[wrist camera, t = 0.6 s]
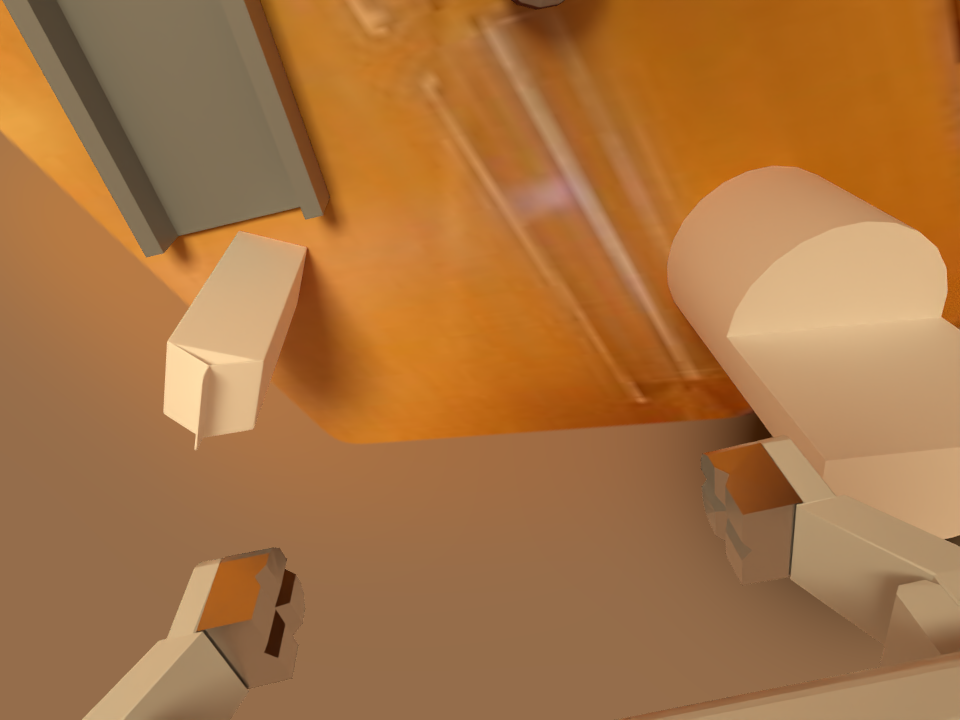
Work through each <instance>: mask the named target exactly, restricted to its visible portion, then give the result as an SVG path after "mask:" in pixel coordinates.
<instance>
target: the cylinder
mask: <svg viewBox="0 0 960 720" xmlns="http://www.w3.org/2000/svg"><path fill="white" fill-rule="evenodd" d="M667 275H668V286H669V289H670V292H671V295H672V298H673V300H674V302H675V304H676V305H677V307H678V308H679V309H680V311H681V312H682V313H683V315H684V316H685V317H686V319H687V320H688V322H689V323H690V324H691V326H692V327H693V328H694V330H695V331H696V332H697V334H698V335H699V337H700V338H701V339H702V341H703V342H704V343H705V345H706V346H707V347H708V349H709V350H710V352H711V353H712V354H713V356H714V357H715V358H716V360H717V361H718V363H719V364H720V365H721V367H722V368H723V369H724V371H725V372H726V373H727V375H728V376H729V378H730V379H731V380H732V382H733V383H734V384H735V386H736V387H737V388H738V390H739V391H740V393H741V394H742V395H743V397H744V398H745V399H746V401H747V402H748V403H749V405H750V406H751V408H752V409H753V410H754V412H755V413H756V414H757V416H758V417H759V419H760V420H761V421H762V423H763V424H764V425H765V427H766V428H767V429H768V430H769V432H770V433H771V435H772V436H773V437H776V436H780V435H785V436H787V437H789V438H790V439H791V440H792V441H793V443H794V444H795V445H796V446H797V448H798V449H799V450H800V451H801V453H802V454H803V455H804V456H805V458H806V459H807V460H808V461H809V463H810V464H811V465H812V466H813V468H814V469H815V470H816V471H817V473H818V474H819V475H820V476H821V478H822V479H823V480H824V481H825V483H826V484H827V485H828V486H829V488H830V489H831V490H832V491H833V493H834V494H835V495H836V496H841V495H847V496H849V497H851V498H853V499H856V500H858V501H860V502H862V503H864V504H867V505H869V506H871V507H873V508H875V509H878V510H880V511H882V512H884V513H886V514H889V515H891V516H893V517H895V518H897V519H900V520H902V521H904V522H906V523H908V524H911V525H913V526H915V527H917V528H919V529H922V530H924V531H926V532H928V533H930V534H933V535H935V536H937V537H939V538H941V539H946V538H952V537H955V536H958V535H960V330H959V329H958V328H956V327H955V326H954V325H952V324H951V323H949V322H948V321H946V320H945V319H944V318H942V317H941V315H942V311H943V307H944V304H945V300H946V296H947V292H948V290H947V270H946V266H945V264H944V262H943V260H942V257H941V255H940V253H939V251H938V249H937V247H936V246H935V245H934V244H933V243H932V242H930V241H929V240H928V239H927V238H926V237H925V236H924V235H923V234H921V233H920V232H919V231H917V230H915V229H914V228H912V227H910V226H908V225H906V224H905V223H903V222H901V221H899V220H898V219H896V218H894V217H892V216H890V215H889V214H887V213H885V212H883V211H881V210H880V209H878V208H876V207H874V206H872V205H871V204H869V203H867V202H865V201H863V200H862V199H860V198H858V197H856V196H854V195H853V194H851V193H849V192H847V191H845V190H844V189H842V188H840V187H838V186H836V185H835V184H833V183H831V182H829V181H827V180H826V179H824V178H822V177H820V176H818V175H816V174H814V173H811V172H809V171H806V170H803V169H801V168H798V167H787V166H769V167H765V168H760V169H755V170H751V171H747V172H745V173H743V174H741V175H738V176H736V177H734V178H732V179H730V180H728V181H726V182H724V183H722V184H721V185H720V186H718V187H717V188H716V189H714V190H713V191H712V192H710V193H709V194H708V195H707V196H705V197H704V198H703V199H701V201H700V202H699V203H698V204H697V205H696V206H695V208H694V209H693V210H692V211H691V212H690V213H689V215H688V216H687V217H686V218H685V219H684V221H683V223H682V225H681V227H680V229H679V231H678V232H677V234H676V236H675V238H674V240H673V243H672V246H671V250H670V254H669V258H668V262H667Z"/></svg>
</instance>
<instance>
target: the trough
mask: <svg viewBox="0 0 960 720" xmlns="http://www.w3.org/2000/svg"><path fill="white" fill-rule="evenodd" d="M3 2H4V4H5V6H6V8H7V9H8V11H9V13H10V15H11V16H12V18H13V20H14V22H15V24H16V25H17V27H18V29H19V31H20V33H21V34H22V36H23V38H24V40H25V42H26V43H27V45H28V47H29V49H30V50H31V52H32V54H33V56H34V58H35V59H36V61H37V63H38V65H39V67H40V68H41V70H42V72H43V74H44V75H45V77H46V79H47V81H48V83H49V84H50V86H51V88H52V90H53V92H54V93H55V95H56V97H57V99H58V101H59V102H60V104H61V106H62V108H63V109H64V111H65V113H66V115H67V117H68V118H69V120H70V122H71V124H72V126H73V127H74V129H75V131H76V133H77V135H78V136H79V138H80V140H81V142H82V143H83V145H84V147H85V149H86V151H87V152H88V154H89V156H90V158H91V160H92V161H93V163H94V165H95V167H96V168H97V170H98V172H99V174H100V176H101V177H102V179H103V181H104V183H105V185H106V186H107V188H108V190H109V192H110V194H111V195H112V197H113V199H114V201H115V202H116V204H117V206H118V208H119V210H120V211H121V213H122V215H123V217H124V219H125V220H126V222H127V224H128V226H129V228H130V229H131V231H132V233H133V235H134V236H135V238H136V240H137V242H138V244H139V245H140V247H141V249H142V251H143V253H144V254H145V256H146V257H150V256H154V255H158V254H163V253H164V252H165V251H166V250H167V249H168V248H169V246H170V245H171V244H172V243H173V242H174V241H175V239H176V238H177V237H178V236H180V235H185V234H189V233H193V232H197V231H201V230H206V229H210V228H214V227H218V226H222V225H226V224H231V223H235V222H239V221H243V220H247V219H252V218H256V217H260V216H264V215H268V214H273V213H277V212H281V211H285V210H289V209H293V208H298V207H301V210H302V212H303V215H304V218H305V220H306V219H310V218H314V217H318V216H322V215H324V212H325V209H326V206H327V204H328V201H329V198H330V196H329V193H328V190H327V188H326V185H325V182H324V179H323V176H322V174H321V171H320V168H319V165H318V162H317V160H316V157H315V154H314V151H313V148H312V145H311V143H310V140H309V137H308V134H307V131H306V129H305V126H304V123H303V120H302V117H301V115H300V112H299V109H298V106H297V103H296V101H295V98H294V95H293V92H292V89H291V87H290V84H289V81H288V78H287V75H286V73H285V70H284V67H283V64H282V61H281V59H280V56H279V53H278V50H277V47H276V45H275V42H274V39H273V36H272V33H271V31H270V28H269V25H268V22H267V19H266V17H265V14H264V11H263V8H262V5H261V3H260V0H3Z"/></svg>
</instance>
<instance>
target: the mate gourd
mask: <svg viewBox="0 0 960 720" xmlns="http://www.w3.org/2000/svg"><path fill="white" fill-rule="evenodd" d="M512 1H513V2H514V3H515V4H517V5H521V6H524V7H528V8H532V9H535V10H536V9H541V8H546V7H552V6H557V5H559V4H560V3H562V2H563V1H564V0H512Z"/></svg>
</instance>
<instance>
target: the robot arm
mask: <svg viewBox="0 0 960 720" xmlns="http://www.w3.org/2000/svg"><path fill="white" fill-rule="evenodd" d="M701 470H702V471H703V474H704V475H705V477H706V479H707V480H706V482H705V483H704V484H703V486H702V497H703V502H704V507H705V511H706V515H707V517H708V520H709V522H710V525H711V527H712V529H713V531H714V533H715V535H716V536H717V537H719V538H720V539H722V540H724V541H726V556H727V558H728V560H729V562H730V564H731V566H732V567H733V569H734V571H735V573H736V575H737V577H738V579H739V580H740V582H741V584H742V585H747V584H753V583H758V582H764V581H770V580H775V579H781V578H787V577H791V580H792V581H794V582H795V583H797V584H798V585H799V586H801V587H802V588H804V589H805V590H807V591H808V592H809V593H811V594H812V595H814V596H815V597H816V598H818V599H819V600H821V601H822V602H823V603H825V604H826V605H828V606H829V607H830V608H832V609H833V610H835V611H836V612H837V613H839V614H840V615H842V616H843V617H844V618H846V619H847V620H849V621H850V622H852V623H853V624H854V625H856V626H857V627H859V628H860V629H861V630H863V631H864V632H866V633H867V634H869V635H870V636H871V637H873V638H874V639H876V640H877V641H878V642H880V643H881V644H883V645H884V650H883V654H882V658H881V663H880V667H878V668H873V669H868V670H863V671H858V672H853V673H848V674H843V675H838V676H833V677H828V678H823V679H818V680H813V681H807V682H802V683H798V684H792V685H787V686H782V687H777V688H772V689H767V690H762V691H757V692H752V693H747V694H742V695H737V696H732V697H727V698H722V699H717V700H712V701H707V702H702V703H697V704H692V705H687V706H682V707H676V708H672V709H667V710H661V711H656V712H652V713H647V714H642V715H636V716H632V717H627V718H621V719H616V720H960V547H959V546H957V545H955V544H952V543H950V542H948V541H946V540H944V539H941V538H939V537H937V536H935V535H933V534H930V533H928V532H926V531H924V530H922V529H919V528H917V527H915V526H913V525H911V524H908V523H906V522H904V521H902V520H900V519H897V518H895V517H893V516H891V515H889V514H886V513H884V512H882V511H880V510H878V509H875V508H873V507H871V506H869V505H867V504H864V503H862V502H860V501H858V500H856V499H853V498H851V497H849V496H847V495H841V496H836V495H835V494H834V493H833V491H832V490H831V489H830V488H829V486H828V485H827V484H826V483H825V481H824V480H823V479H822V478H821V476H820V475H819V474H818V473H817V471H816V470H815V469H814V468H813V466H812V465H811V464H810V463H809V461H808V460H807V459H806V458H805V456H804V455H803V454H802V453H801V451H800V450H799V449H798V448H797V446H796V445H795V444H794V443H793V441H792V440H791V439H790V438H789V437H787V436H785V435H780V436H776V437H772V438H768V439H763V440H759V441H756V442H750V443H746V444H741V445H737V446H733V447H728V448H724V449H720V450H715V451H711V452H706V453H703V454H702V457H701ZM286 561H287V558H286V557H285V556H284V554H283V552H282V551H281V549H280V548H269V549H264V550H258V551H253V552H249V553H243V554H238V555H232V556H228V557H225V558H220V559H215V560H209V561H204V562H200V563H199V564H198V565H197V566H196V567H195V568H194V570H193V573H192V575H191V578H190V580H189V583H188V586H187V588H186V591H185V593H184V596H183V598H182V601H181V604H180V606H179V609H178V612H177V614H176V616H175V619H174V622H173V624H172V627H171V629H170V632H169V634H168V637H167V639H164V640H160V641H158V642H157V643H156V644H155V645H154V647H153V648H151V649H150V651H149V652H148V653H147V654H146V655H145V656H144V657H143V658H142V659H141V660H140V661H139V662H138V663H137V664H136V665H135V666H134V667H133V668H132V669H131V670H130V671H129V672H128V673H127V674H126V675H125V676H124V677H123V678H122V679H121V680H120V681H119V682H118V683H117V684H116V686H115V687H114V688H113V689H112V690H110V692H109V693H108V694H107V695H106V696H105V697H104V698H103V699H102V700H101V701H100V702H99V703H98V704H97V705H96V706H95V707H94V708H93V709H92V710H91V711H90V712H89V713H88V714H87V715H86V716H85V717H84V718H83V719H82V720H230V719H231V718H232V716H233V715H234V713H235V712H236V710H237V709H238V707H239V706H240V704H241V703H242V701H243V700H244V698H245V697H246V695H247V694H248V692H249V691H248V689H251V688H255V687H259V686H263V685H268V684H271V683H276V682H280V681H284V680H288V679H292V677H293V672H294V667H295V661H296V656H297V651H298V643H297V642H296V640H295V639H294V637H293V635H294V634H295V632H296V631H297V630H298V629H299V627H300V626H301V625H302V624H303V618H304V612H305V604H304V592H303V589H302V586H301V583H300V581H299V579H298V577H297V576H296V574H294V573H292V572H290V571H288V570H286V569H285V566H286Z"/></svg>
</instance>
